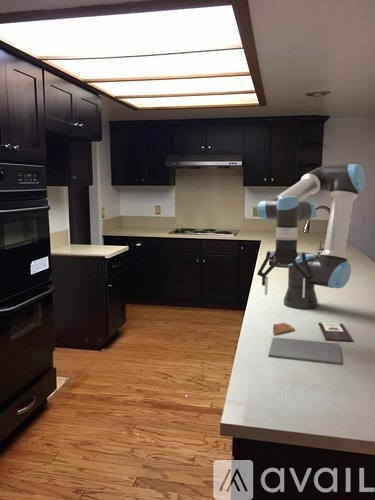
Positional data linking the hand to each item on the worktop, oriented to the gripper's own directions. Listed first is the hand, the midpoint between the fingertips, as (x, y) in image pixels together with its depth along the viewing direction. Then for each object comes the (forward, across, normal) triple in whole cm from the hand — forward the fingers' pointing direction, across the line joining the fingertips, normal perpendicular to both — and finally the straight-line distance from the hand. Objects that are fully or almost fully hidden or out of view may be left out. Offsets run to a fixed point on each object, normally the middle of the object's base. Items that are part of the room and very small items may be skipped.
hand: (284, 295), depth 152 cm
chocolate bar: (+14, +18, +4) cm, 24 cm away
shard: (+14, 0, 0) cm, 14 cm away
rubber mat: (+14, +8, -18) cm, 24 cm away
